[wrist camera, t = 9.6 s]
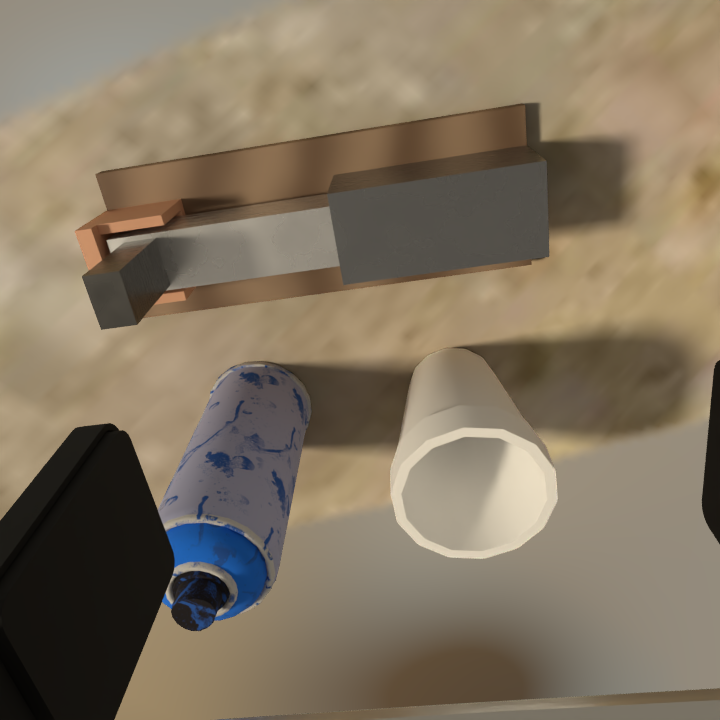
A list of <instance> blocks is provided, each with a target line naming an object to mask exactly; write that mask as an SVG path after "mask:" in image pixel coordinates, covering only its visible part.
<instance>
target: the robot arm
mask: <svg viewBox="0 0 720 720" xmlns="http://www.w3.org/2000/svg"><path fill="white" fill-rule="evenodd" d="M702 509H703V514H704V518H705V520H706V523H707V524H708V526H709V528H710V530H711V531H712V533H713V534H714V536H715V538H716V539H717V541H718V542H719V544H720V360H719V361H718V362H717V363H716V365H715V368H714V375H713V386H712V397H711V408H710V418H709V429H708V441H707V452H706V462H705V473H704V484H703V495H702ZM174 567H175V558H174V552H173V549H172V547H171V544H170V541H169V539H168V536H167V533H166V531H165V528H164V526H163V523H162V520H161V518H160V515H159V512H158V510H157V507H156V505H155V502H154V499H153V497H152V494H151V491H150V489H149V486H148V483H147V481H146V478H145V476H144V473H143V470H142V468H141V465H140V462H139V460H138V457H137V455H136V452H135V449H134V447H133V444H132V441H131V439H130V437H129V435H128V434H127V433H126V432H125V431H123V430H122V431H119V430H118V428H117V427H116V426H115V425H113V424H111V423H109V424H100V425H92V426H84V427H77V428H75V429H74V430H73V431H72V432H71V433H70V435H69V436H68V437H67V438H66V440H65V441H64V442H63V443H62V445H61V446H60V447H59V448H58V450H57V451H56V452H55V453H54V455H53V456H52V457H51V458H50V460H49V461H48V462H47V463H46V464H45V466H44V467H43V468H42V469H41V471H40V472H39V473H38V474H37V476H36V477H35V478H34V479H33V481H32V482H31V483H30V484H29V486H28V487H27V488H26V489H25V491H24V492H23V493H22V494H21V496H20V497H19V498H18V499H17V501H16V502H15V503H14V504H13V506H12V507H11V508H10V509H9V511H8V512H7V513H6V514H5V516H4V517H3V518H2V519H1V521H0V720H114V719H115V716H116V714H117V711H118V709H119V707H120V704H121V702H122V699H123V697H124V694H125V692H126V689H127V687H128V684H129V682H130V679H131V677H132V674H133V672H134V669H135V667H136V664H137V662H138V660H139V657H140V654H141V652H142V649H143V647H144V645H145V642H146V640H147V637H148V635H149V632H150V630H151V627H152V625H153V622H154V620H155V618H156V615H157V613H158V610H159V608H160V605H161V603H162V600H163V598H164V595H165V593H166V590H167V588H168V585H169V583H170V580H171V578H172V576H173V572H174ZM219 720H720V688H717V689H700V690H684V691H665V692H647V693H631V694H613V695H596V696H579V697H561V698H544V699H527V700H511V701H496V702H480V703H463V704H447V705H431V706H416V707H400V708H385V709H369V710H353V711H338V712H323V713H307V714H293V715H276V716H262V717H248V718H234V719H219Z"/></svg>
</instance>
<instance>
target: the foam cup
mask: <svg viewBox="0 0 720 720" xmlns="http://www.w3.org/2000/svg"><path fill="white" fill-rule="evenodd" d="M390 485H391V497H392V502H393V506H394V511H395V515H396V519H397V522H398V523H399V525H400V526H401V527H402V528H403V529H404V530H405V531H406V532H407V533H408V534H409V535H410V537H412V539H413V540H414V541H415V542H416V543H417V544H418V545H420V546H423V547H425V548H427V549H430V550H432V551H435V552H437V553H439V554H442V555H444V556H446V557H451V558H478V559H484V558H488V557H491V556H494V555H498V554H501V553H504V552H508V551H511V550H514V549H517V548H519V547H520V546H521V545H523V544H524V543H525V542H526V541H528V540H529V539H530V538H532V537H533V536H534V535H535V534H537V533H538V532H539V531H540V530H542V529H543V528H544V527H545V525H546V523H547V521H548V519H549V517H550V515H551V513H552V511H553V509H554V507H555V505H556V503H557V501H558V495H557V484H556V472H555V468H554V465H553V463H552V460H551V458H550V455H549V453H548V450H547V448H546V446H545V444H544V443H543V442H542V440H541V439H540V438H539V436H538V435H537V434H536V432H535V431H534V430H533V428H532V427H531V426H530V424H529V423H528V422H527V421H525V419H524V418H523V416H522V415H521V413H520V412H519V410H518V409H517V407H516V406H515V404H514V402H513V401H512V399H511V398H510V396H509V395H508V393H507V392H506V390H505V389H504V387H503V386H502V384H501V383H500V381H499V379H498V378H497V376H496V375H495V373H494V372H493V371H492V369H491V368H490V367H489V365H488V364H487V363H486V361H485V360H484V359H483V357H481V356H479V355H477V354H475V353H473V352H471V351H469V350H467V349H460V348H445V349H442V350H440V351H437V352H434V353H432V354H429V355H427V356H426V357H425V358H424V359H423V360H422V361H421V362H420V363H419V364H418V365H417V366H416V367H415V369H414V372H413V375H412V378H411V381H410V386H409V389H408V394H407V400H406V405H405V410H404V416H403V421H402V426H401V432H400V437H399V442H398V447H397V450H396V453H395V456H394V459H393V462H392V465H391V468H390Z"/></svg>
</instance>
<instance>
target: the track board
mask: <svg viewBox="0 0 720 720" xmlns="http://www.w3.org/2000/svg"><path fill="white" fill-rule="evenodd" d="M524 145H527V140H526V115H525V105H524V104H517V105H510V106H504V107H498V108H492V109H486V110H479V111H473V112H467V113H461V114H455V115H448V116H442V117H436V118H430V119H424V120H417V121H411V122H405V123H399V124H393V125H387V126H380V127H374V128H368V129H362V130H356V131H349V132H343V133H337V134H331V135H325V136H318V137H312V138H306V139H300V140H294V141H287V142H281V143H275V144H269V145H263V146H256V147H250V148H244V149H238V150H232V151H225V152H219V153H213V154H207V155H201V156H195V157H188V158H182V159H176V160H170V161H164V162H157V163H151V164H145V165H139V166H133V167H126V168H120V169H114V170H108V171H102V172H100V173H98V174H95V175H96V178H97V181H98V184H99V187H100V190H101V193H102V196H103V199H104V202H105V205H106V208H107V210H112V209H118V208H124V207H131V206H137V205H144V204H150V203H157V202H163V201H170V200H176V199H181V201H182V204H183V208H184V211H185V215H191V214H197V213H204V212H210V211H217V210H223V209H230V208H237V207H243V206H250V205H256V204H263V203H269V202H276V201H283V200H289V199H296V198H302V197H309V196H315V195H322V194H327V193H328V190H329V187H330V184H331V181H332V178H333V175H337V174H344V173H350V172H356V171H363V170H369V169H376V168H382V167H389V166H395V165H402V164H408V163H415V162H421V161H427V160H434V159H440V158H447V157H453V156H460V155H466V154H473V153H479V152H485V151H492V150H498V149H505V148H511V147H518V146H524ZM525 265H532V264H531V259H529V260H522V261H515V262H507V263H500V264H493V265H486V266H478V267H471V268H464V269H457V270H449V271H442V272H435V273H428V274H420V275H413V276H406V277H399V278H391V279H384V280H377V281H370V282H362V283H355V284H348V285H343V281H342V275H341V270H340V266H337V267H330V268H323V269H316V270H309V271H301V272H294V273H287V274H280V275H273V276H266V277H259V278H252V279H245V280H238V281H231V282H223V283H216V284H209V285H202V286H196V288H195V289H194V290H193V292H192V293H191V295H190V296H189V297H188V299H187V300H185V301H177V302H170V303H163V304H156V305H153V306H152V308H151V309H150V310H149V311H148V312H147V314H146V315H145V316H144V317H143V318H146V317H154V316H161V315H168V314H175V313H183V312H190V311H197V310H205V309H212V308H219V307H226V306H234V305H241V304H248V303H256V302H263V301H270V300H277V299H285V298H292V297H299V296H307V295H314V294H321V293H328V292H336V291H343V290H350V289H358V288H365V287H372V286H379V285H387V284H394V283H401V282H409V281H416V280H423V279H430V278H438V277H445V276H452V275H460V274H467V273H474V272H481V271H489V270H496V269H503V268H511V267H518V266H525Z"/></svg>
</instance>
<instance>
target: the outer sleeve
mask: <svg viewBox="0 0 720 720" xmlns="http://www.w3.org/2000/svg"><path fill="white" fill-rule="evenodd" d="M327 197H328V203H329V208H330V214H331V219H332V225H333V231H334V236H335V242H336V247H337V253H338V259H339V264H340V270H341V275H342V281H343V285H348V284H355V283H362V282H370V281H377V280H384V279H391V278H399V277H406V276H413V275H420V274H428V273H435V272H442V271H449V270H457V269H464V268H471V267H478V266H486V265H493V264H500V263H507V262H515V261H522V260H529V259H536V258H544V257H549V227H548V190H547V161H546V160H545V159H544V158H543V157H541V156H540V155H539V154H537V153H536V152H535V151H534V150H532V149H531V148H530V147H529V146H527V145H524V146H518V147H511V148H505V149H498V150H492V151H485V152H479V153H473V154H466V155H460V156H453V157H447V158H440V159H434V160H427V161H421V162H415V163H408V164H402V165H395V166H389V167H382V168H376V169H369V170H363V171H356V172H350V173H344V174H337V175H333V178H332V181H331V184H330V187H329V190H328V193H327Z"/></svg>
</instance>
